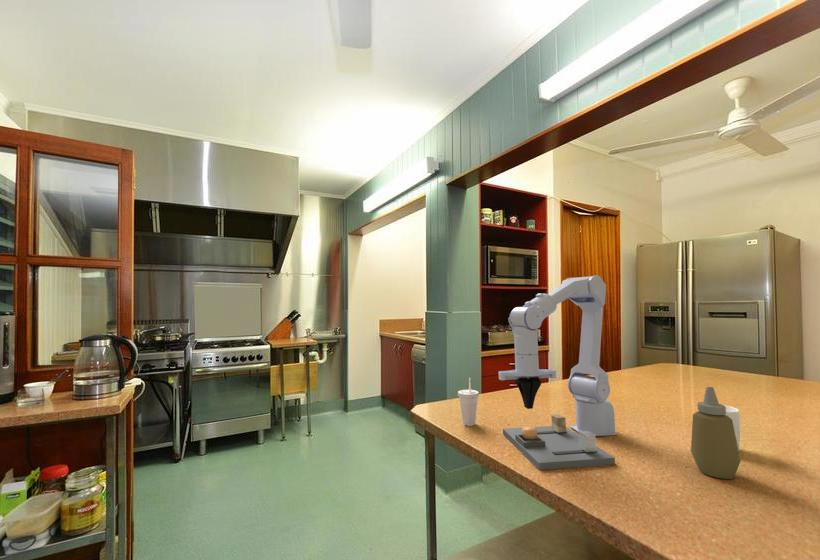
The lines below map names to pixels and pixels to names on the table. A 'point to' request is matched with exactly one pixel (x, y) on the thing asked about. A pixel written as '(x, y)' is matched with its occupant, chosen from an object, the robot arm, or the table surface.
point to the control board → (556, 449)
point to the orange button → (529, 432)
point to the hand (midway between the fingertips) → (528, 407)
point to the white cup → (734, 421)
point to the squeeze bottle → (714, 439)
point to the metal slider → (587, 441)
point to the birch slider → (558, 423)
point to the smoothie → (468, 405)
